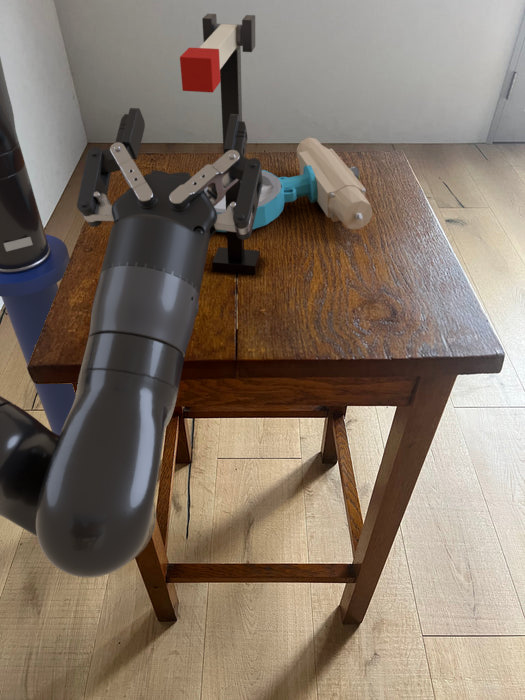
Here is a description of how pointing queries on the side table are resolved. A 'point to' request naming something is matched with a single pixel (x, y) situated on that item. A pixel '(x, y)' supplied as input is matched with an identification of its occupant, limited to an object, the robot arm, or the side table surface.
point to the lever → (209, 58)
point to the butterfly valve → (314, 188)
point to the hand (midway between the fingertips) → (186, 117)
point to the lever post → (231, 102)
